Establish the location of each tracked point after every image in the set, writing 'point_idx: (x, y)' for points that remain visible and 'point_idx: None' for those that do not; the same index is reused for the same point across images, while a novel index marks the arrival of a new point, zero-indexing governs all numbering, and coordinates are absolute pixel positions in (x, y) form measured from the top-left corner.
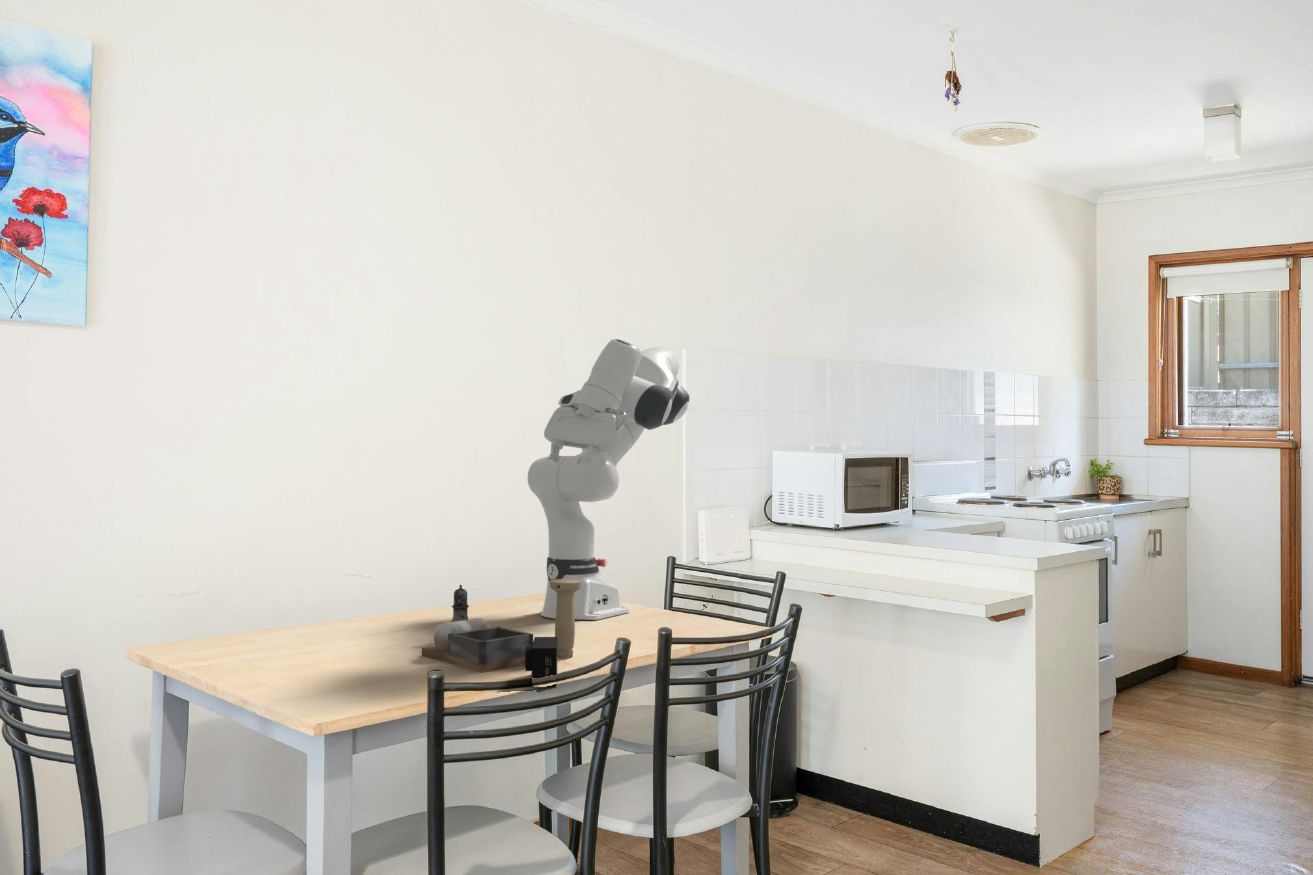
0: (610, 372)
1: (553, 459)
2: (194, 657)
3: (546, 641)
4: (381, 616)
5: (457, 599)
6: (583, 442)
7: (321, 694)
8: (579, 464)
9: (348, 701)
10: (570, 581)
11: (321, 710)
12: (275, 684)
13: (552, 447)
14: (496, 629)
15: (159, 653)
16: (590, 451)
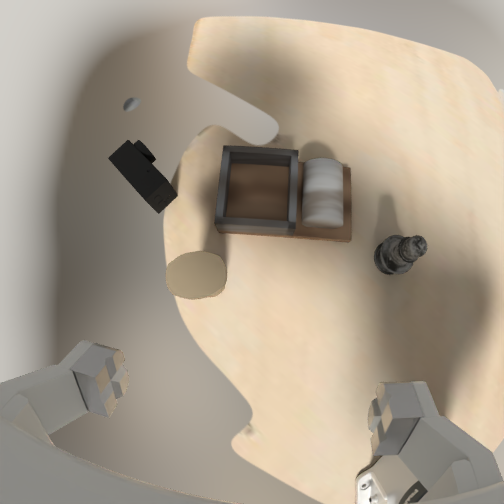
0: None
1: (380, 392)
2: (445, 66)
3: (137, 171)
4: None
5: (409, 238)
6: (34, 436)
7: (266, 43)
8: (97, 344)
9: (231, 44)
10: (187, 280)
11: (224, 28)
12: (321, 41)
13: (457, 440)
14: (288, 220)
15: (467, 65)
16: (10, 385)
